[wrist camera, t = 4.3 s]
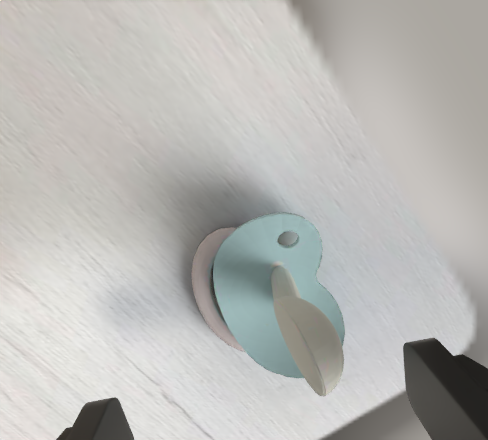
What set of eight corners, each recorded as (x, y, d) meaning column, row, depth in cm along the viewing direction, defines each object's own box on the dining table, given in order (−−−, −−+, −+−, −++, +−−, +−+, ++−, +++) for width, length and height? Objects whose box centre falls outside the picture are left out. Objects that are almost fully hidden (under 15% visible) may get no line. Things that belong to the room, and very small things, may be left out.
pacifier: (225, 359, 16) (342, 328, 15) (212, 502, 10) (402, 461, 9) (170, 229, 14) (302, 187, 13) (113, 311, 8) (347, 241, 7)
